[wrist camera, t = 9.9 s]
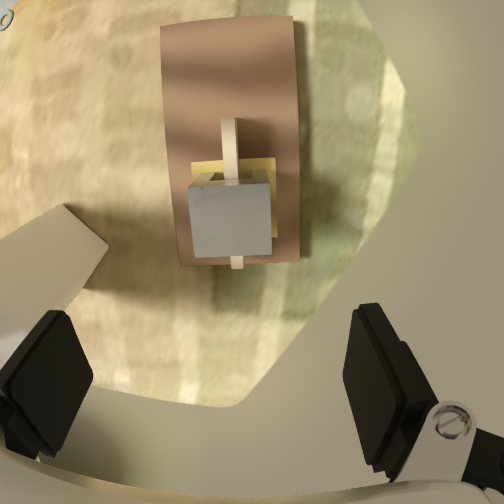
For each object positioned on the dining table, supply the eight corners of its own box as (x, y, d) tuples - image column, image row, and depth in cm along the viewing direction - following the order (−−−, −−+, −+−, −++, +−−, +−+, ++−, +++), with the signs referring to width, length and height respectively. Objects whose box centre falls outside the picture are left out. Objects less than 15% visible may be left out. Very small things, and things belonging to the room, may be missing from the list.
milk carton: (82, 288, 32) (-9, 412, 15) (38, 249, 30) (-72, 349, 13) (110, 245, 30) (0, 375, 12) (61, 202, 28) (-75, 294, 11)
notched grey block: (201, 173, 26) (186, 188, 20) (265, 169, 26) (269, 183, 20) (206, 229, 28) (195, 257, 22) (267, 226, 28) (271, 254, 22)
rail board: (163, 29, 22) (149, 16, 18) (290, 20, 22) (297, 4, 18) (183, 260, 30) (174, 281, 27) (297, 256, 30) (304, 276, 26)
